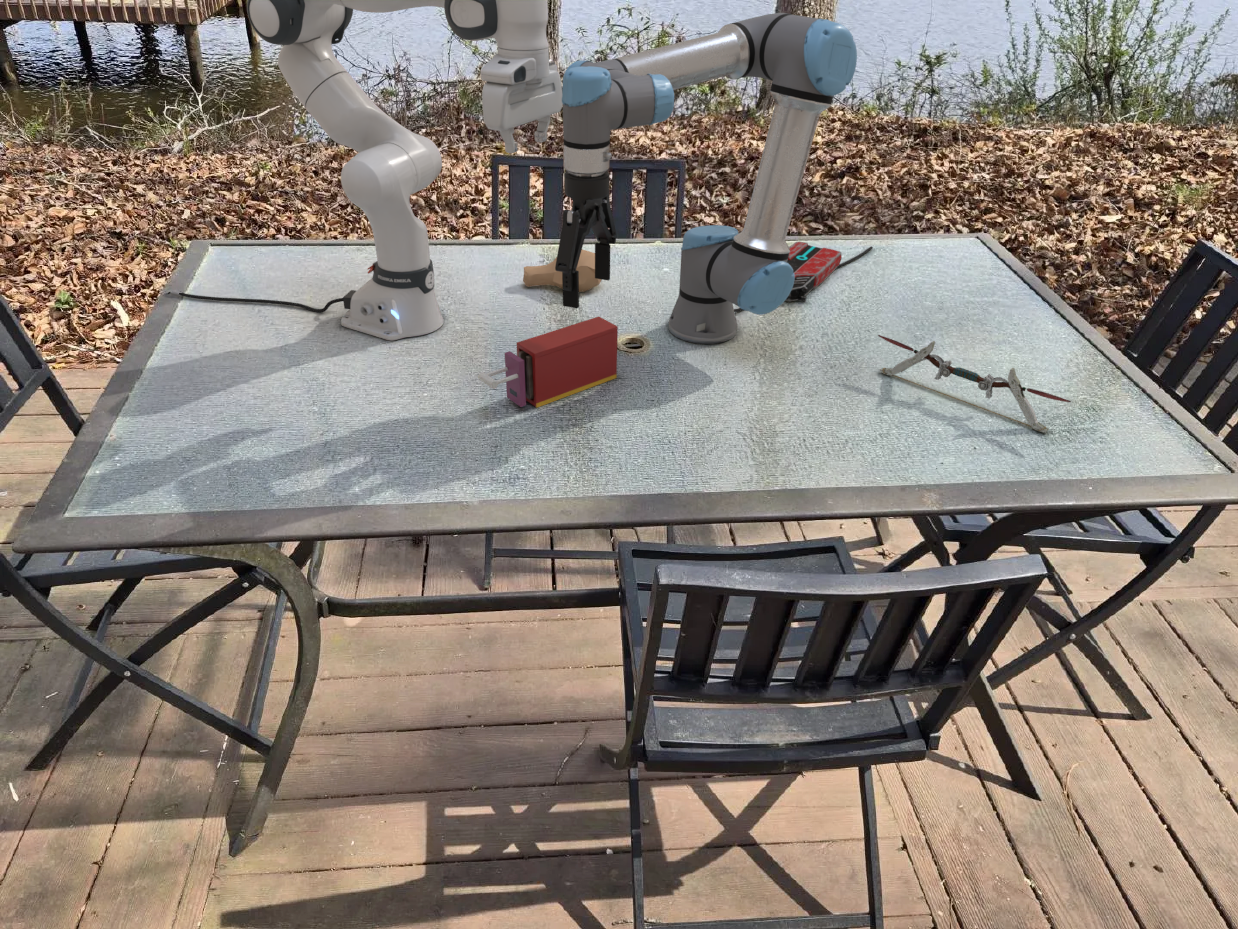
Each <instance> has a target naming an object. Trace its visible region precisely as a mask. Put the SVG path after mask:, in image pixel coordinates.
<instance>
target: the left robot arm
mask: <svg viewBox="0 0 1238 929" xmlns="http://www.w3.org/2000/svg"><path fill="white" fill-rule="evenodd" d="M548 5H549V4H548V0H247V1H246V12H247V17H248V20H249V23H250V25H251V27H252V29H253V30H254V32H255V33H256V34H257V35H258V36H259V38H261V39H262V40H263V41H265V42H267V43H269V44H272V45H276V46H282V47H281V49H280V51H279V53H278V57H277V66H278V68H279V70H280V72H281V74H282V76H283V79H284V80H285V81H286V83H287V84H288V87H289V88H290V90H291V91H292V92H293V93H294V96H295V97H296V98H297V99H298V101H299V102H300V103H301V104H302V106H303V107H304V108H305V109H306V111H307V112H308V113H309V114H310V115H311V117H313V119H314V120H315V121H316V123H317V124H318V125H319V127H321V129H322V130H323V131H324V133H326V134H327V136H328V137H329V138H330V139H331V140H332V141H333V142H335V143H336V144H339V145H341V146H345V147H347V148H349V149H352V150H354V151H356V152H357V153H356V155H354V156H353V157H352V158H351V159H350V160H348V161H347V162H346V163H345V164H344V165H343V166H342V169H341V172H340V184H341V187H342V190H343V193H344V194H345V196H346V197H347V199H348V200H349V201H350V202H351V203H352V204H353V205H355V206H356V207H358V208H359V209H360V210H362V212H363V213H364V214H365V216H366V218H367V220H368V223H369V225H370V229H371V231H372V236H373V240H374V241H373V243H374V247H375V253H376V254H375V255H376V261H374V262H373V263H372V265H371V266H369V267H368V268H367V274H370V273H372V277H371V278H370V279H369V280H367V282H365V283H364V284H363V285H362V286H360V287H359V288H358V289H356V290H354V289H351V290H349V291H348V292H347V293H346V294H345V295H344V296H342V297H340V298H334V299H332V300H330V301H328V302H327V303H326V304H325V306H324V307H323V308H314V307H311V306H308V305H306V304H303V303H299V302H292V301H284V300H276V299H259V298H242V297H241V298H240V297H239V298H238V297H218V296H207V295H206V296H205V295H198V294H190V293H185V292H182V293H179V294H178V295H179V296H181V297H185V298H189V299H196V300H205V301H216V302H232V303H233V302H235V303H254V304H255V303H257V304H272V305H283V306H291V307H296V308H301V309H304V310H307V311H310V312H314V313H324V312H326V311H328V309H329V308H330V307H331V305H333V304H336V303H341V302H342V303H343V307H344V310H347V311H346V313H344V314H343V316H342V317H341V320H340V324H341V326H342V327H344V328H347V329H350V330H354V331H357V332H360V333H364V334H367V335H370V336H373V337H377V338H380V339H383V340H387V341H396V340H397V341H398V340H401V339H404V338H412V337H420V336H423V335H427V334H430V333H431V334H432V333H434V332H436V331H437V330H439V329H441V327H442V326H443V325H444V323H445V320H444V317H443V314H442V312H441V310H440V307H439V303H438V300H437V296H436V291H435V271H434V264H433V260H432V259H431V253H430V243H429V232H428V227H427V226H426V224H425V222H424V221H423V220H421V219H420V218H419V217H417V216H415V214H414V211H413V209H412V205H411V202H410V199H411V196H413V194H416V193H418V192H420V191H422V190H424V189H426V188H428V187H429V186H430V185H431V184H432V183H433V182H434V181H435V180H436V179H437V178H438V177H439V176H440V174H441V173H442V168H443V159H442V158H443V157H442V155H441V151H440V150H439V147H438V146H437V145H436V144H435V142H434V141H432V139H430V138H429V137H426V136H424V135H421V134H418V133H415V132H413V131H411V130H409V128H407V127H405V126H403V125H402V124H400V123H399V122H398V121H396V120H395V119H394V118H392V117H391V116H390V115H388V114H387V113H386V112H384V111H383V110H382V109H381V108H380V107H379V106H377V105H376V103H375V102H374V101H373V100H372V99H371V98H370V96H368V94H367V93H366V92H365V91H364V90H363V89H362V87H361V86H360V85H359V84H358V82H357V81H356V80H355V79H354V78H353V77H352V75H351V74H350V73H349V71H348V70H347V69H346V68H345V67H344V66H343V65H342V63H341V62H340V61H339V60H338V58H337V57H336V55H335V54H334V51H333V47H332V46H333V45H336V44H337V45H338V44H340V43H341V42H342V40H343V38H344V34H345V31H346V30H347V29H348V27H349V25H350V23H351V22H352V21H351V20H352V18H353V15H354V10H355V11H359V12H364V13H373V14H374V13H377V14H379V13H380V14H381V13H382V14H384V13H385V14H386V13H392V12H398V11H404V10H409V9H413V8H414V9H415V8H422V7H423V8H425V7H434V8H435V7H436V8H443V9H444V15H445V19H446V22H447V24H448V26H449V28H450V30H451V31H452V32H453V33H454V34H455V35H456V36H457V37H458V38H460V39H462V40H464V41H470V42H479V41H484V40H488V39H494V40H495V41H496V46H497V53H495V54H494V55H493V57H491V59H490V60H489V61H488V62H486V63H485V64H484V65H483V66H482V67H481V69H480V79H481V81H483V82H485V83H484V85H483V87H482V90H481V92H482V93H481V94H482V95H481V100H482V101H481V102H482V116H483V123H484V125H485V127H486V128H487V129H488V130H492V131H496V132H497V131H499V135H500V137H501V138H502V140H503V143H504V151H505V153H507V154H510V155H511V154H515V153H517V152H518V151H519V148H518V143H519V142H518V141H515V138H514V135H513V134H515V128H517V127H519V126H522V125H525V124H529V123H531V122H534V121H537V127H536V131H534V142H536V143H544V142H546V141H547V140H548V129H549V126H550V124H551V115H555V114H559V113H560V112H562V110H563V103H562V89H563V85H562V79H561V75H560V73H559V71H558V65H557V64H556V62H555V61H554V59H553V58H550V53H549V52H550V51H549V50H550V46H549V41H548V37H547V25H548V21H549V7H548Z"/></svg>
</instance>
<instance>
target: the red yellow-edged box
mask: <svg viewBox="0 0 1238 929" xmlns="http://www.w3.org/2000/svg"><path fill="white" fill-rule="evenodd" d="M618 330H619V327H618V326H617V325H616V324H614V323H612V322H611V321H608V320H607V319H604V318H603V317H601V316H596V317H592V318H589V319H586V320H583V321H580V322H577V323H574V324H571V325H568V326H564V327H561V328H558V329H555V330H552V331H548V332H545V333H543V334H539V335H536V336H533V337H530V338H526V339H523V340H520V341H517V342H516V355H517V356H518V357H519V351H522V350H523V351H524V352H526V353H528V354H529V355H531V356H532V363H533V392H534V399H531V400H529V399H528V398H526V402H527V403H529V404H531V405H532V406H533V407H535V408H536V409H537V408H540V407H543V406H546V405H548V404H551V403H554V402H556V401H559V400H561V399H565V398H566V397H570V396H572V395H575V394H578V393H580V392H583V391H585V390H588V389H591V388H594V387H596V386H599V385H601V384H605V383H607V382H610V381H612V380H616V379H617V377H618V374H617V372H618V337H619V336H618V334H619V333H618Z"/></svg>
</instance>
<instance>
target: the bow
mask: <svg viewBox="0 0 1238 929" xmlns="http://www.w3.org/2000/svg"><path fill="white" fill-rule="evenodd" d="M877 336H878V337H879V338H881V339H883V340H884V341H886V342H888V343H890V344H892V345H895V346H897V347H899V348H902V349H904V350H907V351H910V352H913V354H914V356H912V357H908V358H906V359H904V360H902V361H900V362H899V363H897V364H896V365H895V366H893V367H891V368H890V367H882V368H880V369H879V371H880V373H882V374H883V375H886V376H892V377H895V378H898V379H901V380H902V381H906V382H909V383H912V384H914V385H917V386H920V387H922V388H925V389H928V390H931V391H933V392H935V393H939V394H941V395H944V396H946V397H949V398H952V399H955V400H956V401H960V402H963V403H966V404H968V405H971V406H973V407H975V408H979V409H982V410H984V411H986V412H989V413H992V414H995V415H998V416H1000V417H1003V418H1006V419H1008V420H1012V421H1014V422H1017V423H1019V424H1022V425H1024V426H1028V427H1030V428H1032V429H1033V430H1035V431H1037V432H1040V433H1042V434H1043V433H1044V434H1045V433H1047V432H1048V431H1049V430H1050V428H1048V427H1047V426H1045V425H1044V424H1042V423H1041V422H1040V421H1039V420H1038V417H1037V415H1036V411H1035V410H1034V408H1033V406H1032V405H1031V403H1030V401H1029V399H1028V398H1027V397H1026V395H1025V394H1024V392H1025V391H1027V392H1028V393H1031V394H1033V395H1037V396H1040V397H1043V398H1047V399H1050V400H1054V401H1057V402H1058V401H1059V402H1065V403H1071V402H1072V400H1069V399H1066V398H1063V397H1060V396H1059V395H1054V394H1052V393H1048V392H1045V391H1042V390H1037V389H1034V388H1029V387H1028V388H1027V387H1025V386H1022V384H1021V380H1020V379H1019V377H1018V376H1017V372H1016V369H1015V368H1014V367H1011V368H1010V369H1009V372H1008V376H1007V379H1006V378H1003V377H1001V376H997V377H995V376H993V375H991V373H988V374H986V376H984V377H982V376H981V375H980V374H978V373H977V372H975V371H973V370H969V369H966V368H963V367H953V366H951V365H952V360H944V359H943V358H942V357H941V356H940V355H938V354H932V352H933V351H934V349H935V345H936V341H935V340H932V341H931V342H930V343H929V344H928V345H927V346H925V347H922V348H921V349H920V350H918V349H914V348H913V347H911V346H909V345H907V344H905V343H902V342H901V341H898V340H895V339H892V338H889V337H886V336H882V335H880V334H877ZM923 361H928V362H930V363H931V364H932V365H933V366H934V367H936V368H937V369H938V370H937V373H935V377H934V380H936V381H940V380H941V379H942V377H944V378H948V377H950V376H951V375H954V376H957V377H960V378H962V379H965V380H968V381H970V382H973V383H976V384H977V383H978V384H977V387H978V389H979V390H981V391H986V392H985V398H986V399H989V400H990V399H991V398H992V397H993V393H994V392H993V389H994V388H995V389H996V388H997V389H999V388H1001V389H1002V388H1006V389H1007V388H1008V390H1009V391H1010V392H1011V394H1012V395H1013V397H1014V399H1015V401H1016V402H1017V405H1018V408H1019V409H1020V411H1021V413H1022V414H1023V416H1024V419H1025V420H1026V422H1027V423H1025V422H1022V421H1019V420H1016V419H1014V418H1011V417H1010V416H1006V415H1003V414H1000V413H997V412H995V411H993V410H991V409H987V408H984V407H982V406H979V405H976V404H973V403H970V402H968V401H966V400H962V399H961V398H957V397H955V396H951V395H949V394H947V393H944V392H942V391H941V392H940V391H938V390H935V389H932V388H930V387H927V386H924V385H922V384H919V383H916V382H914V381H911V380H908V379H905V378H903V377H900V376H898V375H897V374H900V373H903V372H904V371H906V370H908V369H909V368H911V367H912V366H914V365H917V364H919V363H922V362H923Z"/></svg>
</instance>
